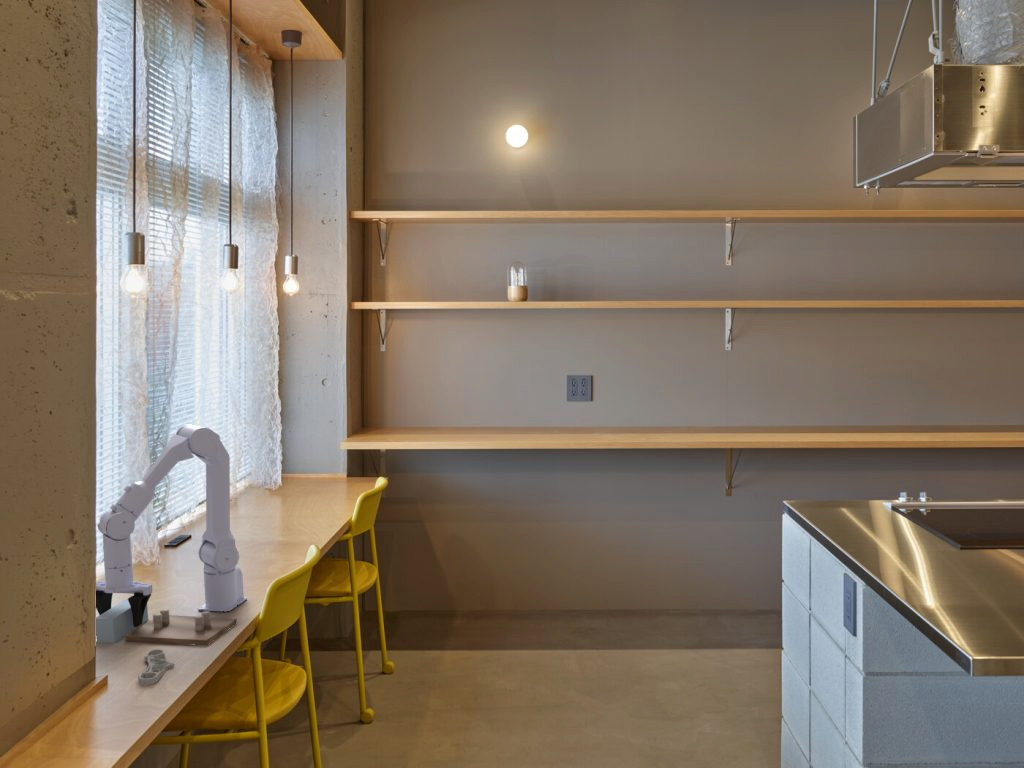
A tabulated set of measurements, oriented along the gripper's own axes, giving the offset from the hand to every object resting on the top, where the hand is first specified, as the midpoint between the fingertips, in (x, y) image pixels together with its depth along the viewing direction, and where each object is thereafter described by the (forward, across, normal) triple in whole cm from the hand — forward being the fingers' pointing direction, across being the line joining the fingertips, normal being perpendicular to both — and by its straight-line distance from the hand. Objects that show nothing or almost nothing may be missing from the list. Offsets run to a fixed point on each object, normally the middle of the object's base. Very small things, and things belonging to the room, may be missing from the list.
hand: (122, 624), depth 203 cm
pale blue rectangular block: (+2, 0, 0) cm, 2 cm away
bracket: (+2, +19, -18) cm, 27 cm away
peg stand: (+1, +14, +1) cm, 14 cm away
